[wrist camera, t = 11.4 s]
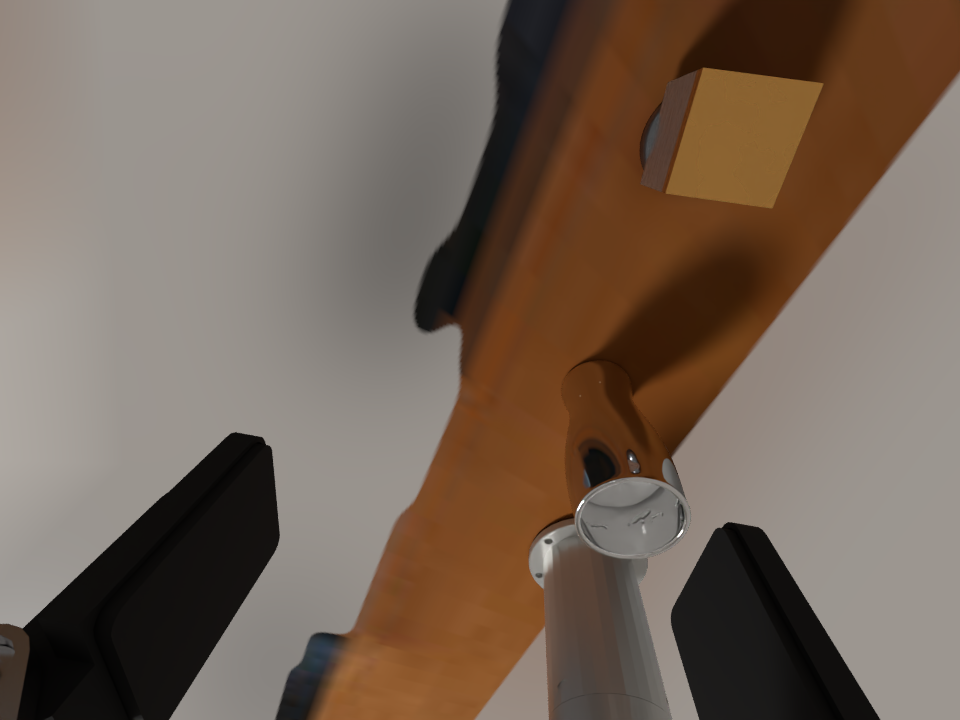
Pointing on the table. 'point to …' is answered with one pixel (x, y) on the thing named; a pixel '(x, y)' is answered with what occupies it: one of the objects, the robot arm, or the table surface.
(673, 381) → the table surface
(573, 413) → the beer glass
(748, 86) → the wooden tan cube
